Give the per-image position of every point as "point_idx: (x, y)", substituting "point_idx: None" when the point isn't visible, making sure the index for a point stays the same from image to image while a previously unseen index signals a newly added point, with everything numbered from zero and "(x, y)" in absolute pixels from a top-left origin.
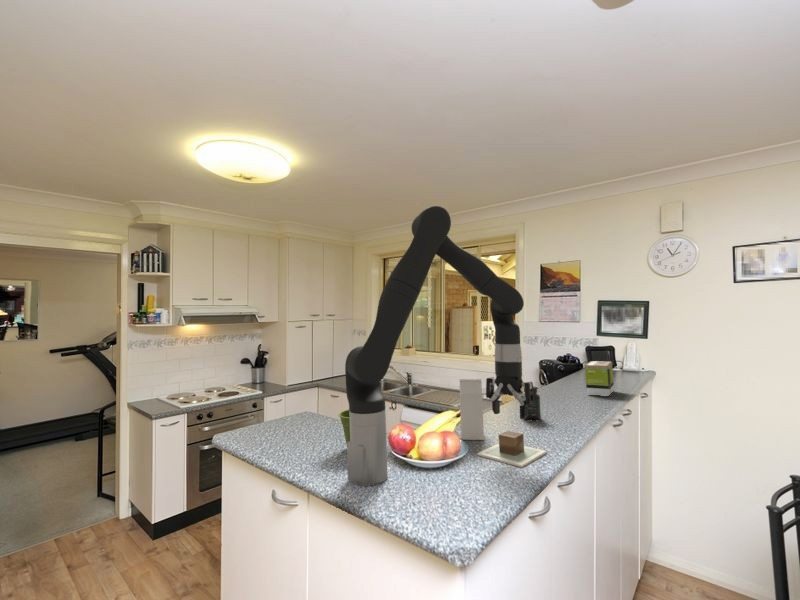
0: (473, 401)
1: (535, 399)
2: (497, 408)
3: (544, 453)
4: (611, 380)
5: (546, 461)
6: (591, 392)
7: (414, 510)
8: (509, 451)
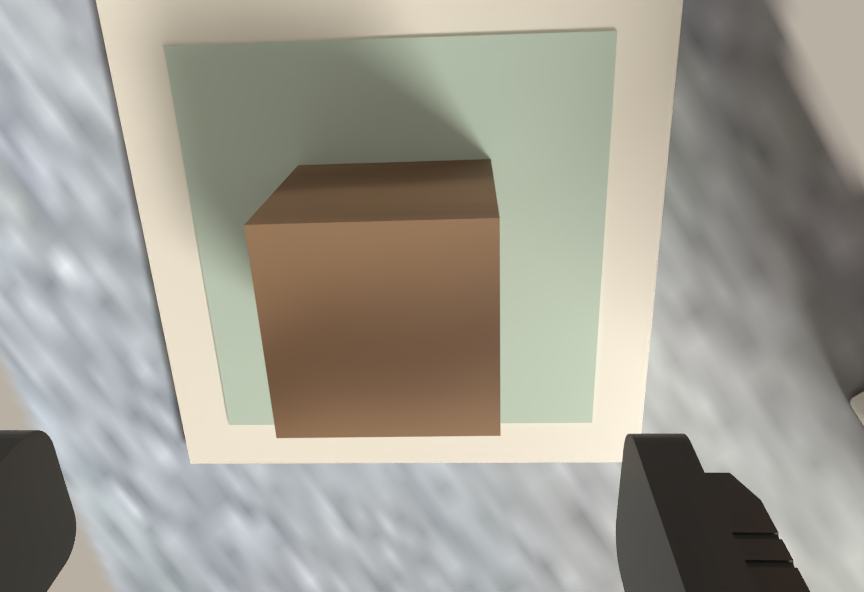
0: None
1: None
2: (644, 566)
3: (186, 423)
4: None
5: (72, 288)
6: None
7: None
8: (359, 171)
